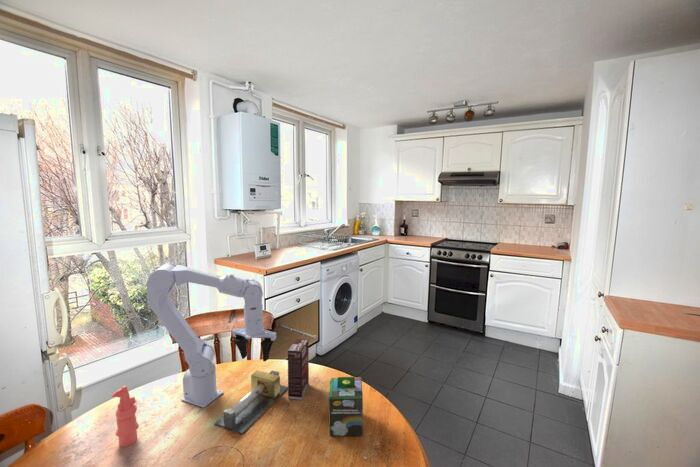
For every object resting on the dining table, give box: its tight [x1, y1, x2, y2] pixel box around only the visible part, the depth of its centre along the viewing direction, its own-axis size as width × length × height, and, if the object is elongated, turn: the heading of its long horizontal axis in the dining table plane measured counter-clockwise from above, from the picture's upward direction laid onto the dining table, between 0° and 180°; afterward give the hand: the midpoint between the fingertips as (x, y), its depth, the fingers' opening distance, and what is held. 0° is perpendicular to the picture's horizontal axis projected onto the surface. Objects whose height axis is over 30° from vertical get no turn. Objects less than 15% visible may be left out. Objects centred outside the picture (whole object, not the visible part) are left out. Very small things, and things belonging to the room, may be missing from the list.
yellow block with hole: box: [250, 370, 281, 398], centre depth 101 cm, size 3×9×6 cm, turn 68°
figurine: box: [111, 385, 140, 448], centre depth 81 cm, size 5×5×15 cm
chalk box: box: [328, 376, 364, 437], centre depth 87 cm, size 9×9×15 cm
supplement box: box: [287, 338, 310, 401], centre depth 102 cm, size 9×5×16 cm, turn 173°
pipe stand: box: [214, 370, 288, 435], centre depth 96 cm, size 22×10×5 cm, turn 158°
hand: (255, 358), depth 103 cm, fingers open, 7 cm apart
